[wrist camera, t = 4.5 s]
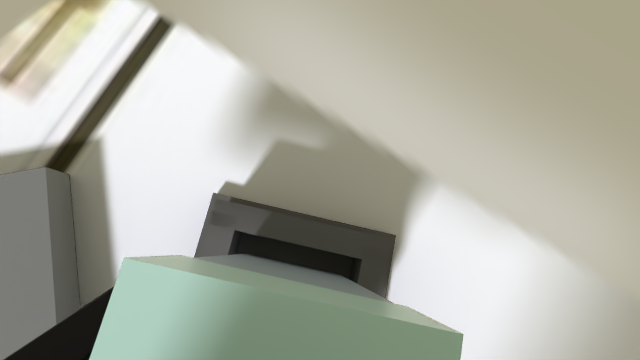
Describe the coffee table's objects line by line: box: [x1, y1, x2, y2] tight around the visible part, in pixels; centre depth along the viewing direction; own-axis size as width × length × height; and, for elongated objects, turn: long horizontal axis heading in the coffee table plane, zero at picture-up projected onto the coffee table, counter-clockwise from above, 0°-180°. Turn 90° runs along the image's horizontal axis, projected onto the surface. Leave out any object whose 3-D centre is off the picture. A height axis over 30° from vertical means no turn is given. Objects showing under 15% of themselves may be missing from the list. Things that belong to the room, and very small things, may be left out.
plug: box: [89, 253, 463, 360], centre depth 9 cm, size 4×4×11 cm
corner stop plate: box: [194, 193, 396, 298], centre depth 14 cm, size 8×8×2 cm
